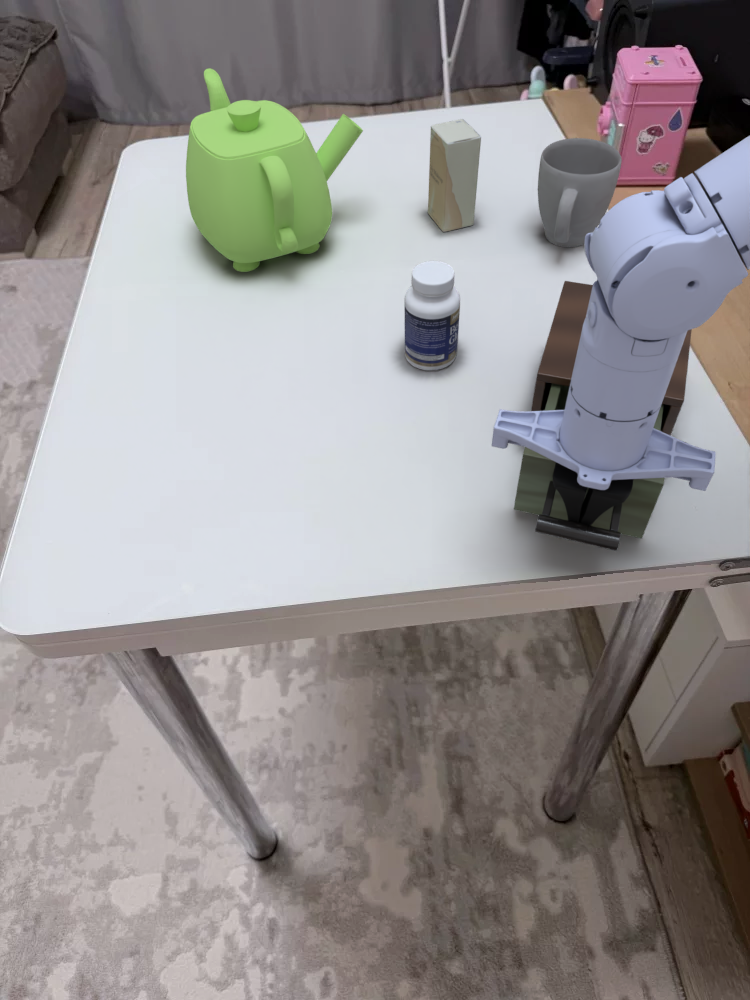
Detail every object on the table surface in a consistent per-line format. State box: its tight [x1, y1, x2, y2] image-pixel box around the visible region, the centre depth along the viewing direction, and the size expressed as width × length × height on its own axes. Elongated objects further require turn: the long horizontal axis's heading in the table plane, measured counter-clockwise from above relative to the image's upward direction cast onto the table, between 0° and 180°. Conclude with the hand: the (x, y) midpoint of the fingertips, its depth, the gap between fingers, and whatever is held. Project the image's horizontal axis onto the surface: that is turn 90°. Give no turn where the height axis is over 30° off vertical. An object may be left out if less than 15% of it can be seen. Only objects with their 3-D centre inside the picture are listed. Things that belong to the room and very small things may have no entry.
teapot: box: [185, 67, 364, 273], centre depth 87 cm, size 25×22×16 cm
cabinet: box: [530, 280, 693, 436], centre depth 67 cm, size 14×12×9 cm
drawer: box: [513, 383, 666, 552], centre depth 60 cm, size 17×10×7 cm, turn 161°
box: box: [427, 118, 482, 233], centre depth 88 cm, size 5×4×11 cm
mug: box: [537, 137, 623, 248], centre depth 85 cm, size 12×9×10 cm
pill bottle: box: [403, 260, 461, 371], centre depth 72 cm, size 5×5×10 cm
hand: (578, 522), depth 57 cm, fingers closed, pressing on drawer
